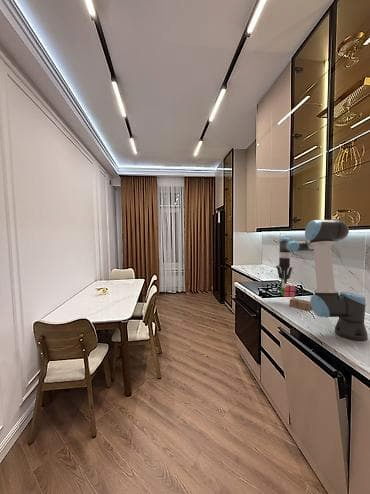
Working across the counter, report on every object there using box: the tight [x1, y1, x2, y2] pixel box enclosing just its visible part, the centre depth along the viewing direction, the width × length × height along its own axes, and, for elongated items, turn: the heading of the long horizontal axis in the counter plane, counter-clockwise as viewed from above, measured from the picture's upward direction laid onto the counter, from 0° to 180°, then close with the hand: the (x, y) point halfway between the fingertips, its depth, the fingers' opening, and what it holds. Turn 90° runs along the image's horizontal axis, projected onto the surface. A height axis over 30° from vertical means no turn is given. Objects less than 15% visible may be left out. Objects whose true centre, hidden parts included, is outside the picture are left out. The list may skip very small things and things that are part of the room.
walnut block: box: [288, 297, 313, 312], centre depth 179 cm, size 7×5×14 cm
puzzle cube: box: [280, 282, 296, 298], centre depth 211 cm, size 10×10×10 cm
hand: (283, 287), depth 188 cm, fingers closed
